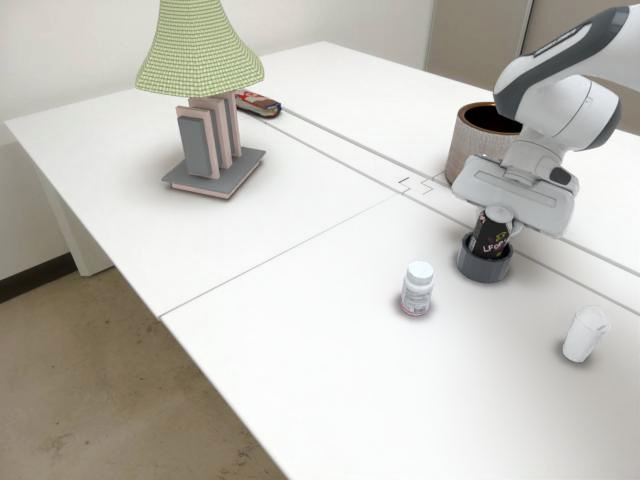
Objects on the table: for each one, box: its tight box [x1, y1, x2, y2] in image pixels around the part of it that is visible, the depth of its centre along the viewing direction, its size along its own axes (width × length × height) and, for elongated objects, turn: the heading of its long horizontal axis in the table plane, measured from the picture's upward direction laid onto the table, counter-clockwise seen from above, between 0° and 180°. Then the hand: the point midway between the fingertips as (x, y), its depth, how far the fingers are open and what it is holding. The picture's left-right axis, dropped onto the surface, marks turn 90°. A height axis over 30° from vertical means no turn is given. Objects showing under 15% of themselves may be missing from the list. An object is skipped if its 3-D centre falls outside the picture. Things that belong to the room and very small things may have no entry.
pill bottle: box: [399, 260, 435, 316], centre depth 74 cm, size 5×5×8 cm
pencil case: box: [234, 89, 283, 117], centre depth 137 cm, size 11×20×5 cm, turn 39°
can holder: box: [456, 230, 515, 284], centre depth 83 cm, size 9×9×5 cm
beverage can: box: [467, 204, 514, 260], centre depth 80 cm, size 6×6×12 cm
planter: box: [444, 101, 523, 185], centre depth 103 cm, size 18×18×16 cm
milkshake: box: [561, 304, 613, 363], centre depth 66 cm, size 4×5×10 cm
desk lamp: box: [134, 0, 267, 200], centre depth 97 cm, size 26×28×40 cm
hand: (488, 238), depth 79 cm, fingers closed on beverage can, 3 cm apart
